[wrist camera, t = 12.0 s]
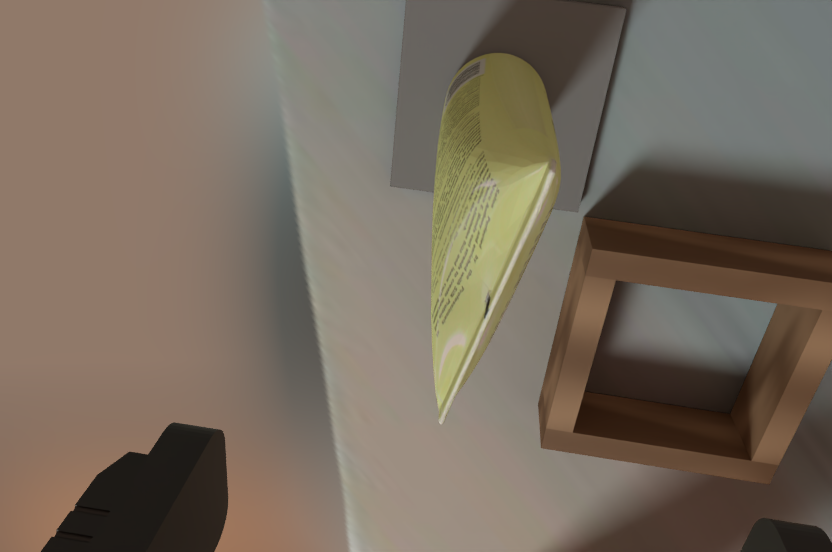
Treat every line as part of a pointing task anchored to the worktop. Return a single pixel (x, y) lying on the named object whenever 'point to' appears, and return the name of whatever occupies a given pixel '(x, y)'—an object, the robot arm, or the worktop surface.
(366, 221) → the worktop surface
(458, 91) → the tube
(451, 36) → the pad
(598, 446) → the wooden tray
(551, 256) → the worktop surface
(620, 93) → the worktop surface
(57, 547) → the robot arm
